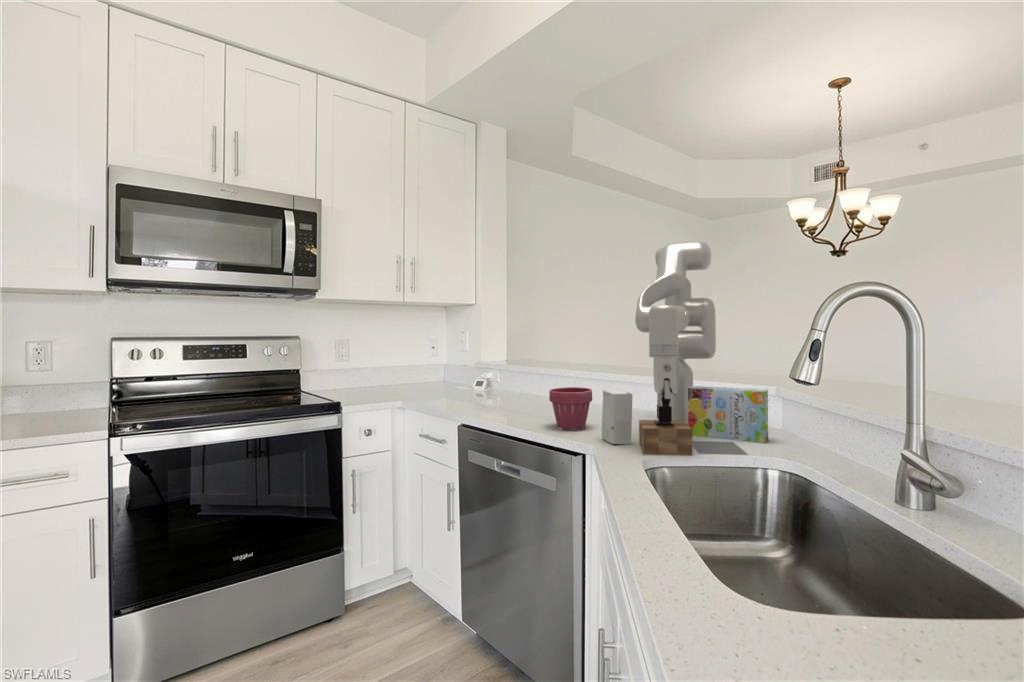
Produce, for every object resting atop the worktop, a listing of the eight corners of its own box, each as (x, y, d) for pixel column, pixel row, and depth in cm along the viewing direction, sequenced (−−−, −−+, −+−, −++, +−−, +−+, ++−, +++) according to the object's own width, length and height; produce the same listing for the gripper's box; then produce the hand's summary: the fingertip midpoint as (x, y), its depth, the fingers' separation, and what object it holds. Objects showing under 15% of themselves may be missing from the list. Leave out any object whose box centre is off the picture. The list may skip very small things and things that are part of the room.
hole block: (639, 444, 139) (639, 419, 139) (683, 445, 137) (683, 420, 137) (643, 455, 127) (643, 428, 127) (692, 456, 125) (692, 429, 125)
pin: (669, 430, 133) (668, 393, 133) (670, 433, 130) (670, 395, 130) (657, 430, 133) (657, 393, 133) (659, 432, 131) (658, 395, 130)
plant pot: (541, 426, 166) (540, 389, 165) (573, 422, 174) (572, 385, 173) (568, 434, 154) (568, 393, 154) (601, 428, 162) (601, 389, 161)
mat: (688, 442, 141) (688, 441, 141) (732, 443, 139) (732, 441, 139) (698, 455, 127) (698, 453, 127) (748, 456, 125) (748, 454, 125)
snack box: (768, 441, 141) (768, 388, 141) (766, 445, 136) (765, 390, 136) (692, 433, 153) (691, 384, 152) (687, 436, 148) (687, 386, 148)
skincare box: (601, 439, 146) (600, 389, 146) (620, 438, 148) (619, 388, 147) (613, 445, 138) (613, 393, 138) (633, 444, 139) (633, 392, 139)
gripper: (684, 353, 123) (684, 426, 123) (673, 350, 139) (673, 415, 139) (653, 353, 124) (653, 426, 124) (645, 350, 140) (646, 414, 140)
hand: (664, 419), depth 132 cm, fingers closed on pin, 3 cm apart
